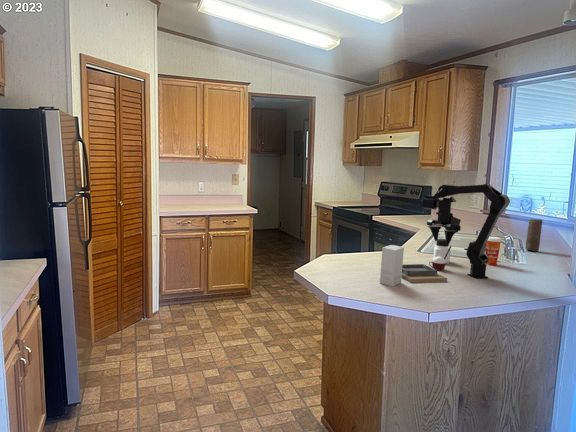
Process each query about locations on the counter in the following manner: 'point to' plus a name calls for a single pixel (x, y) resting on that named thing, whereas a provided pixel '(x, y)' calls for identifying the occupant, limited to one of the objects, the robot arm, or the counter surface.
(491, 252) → the paper cup
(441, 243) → the medicine bottle
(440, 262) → the cocoa
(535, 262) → the counter surface
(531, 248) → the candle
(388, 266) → the skincare box
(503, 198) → the robot arm
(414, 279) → the tray stand
